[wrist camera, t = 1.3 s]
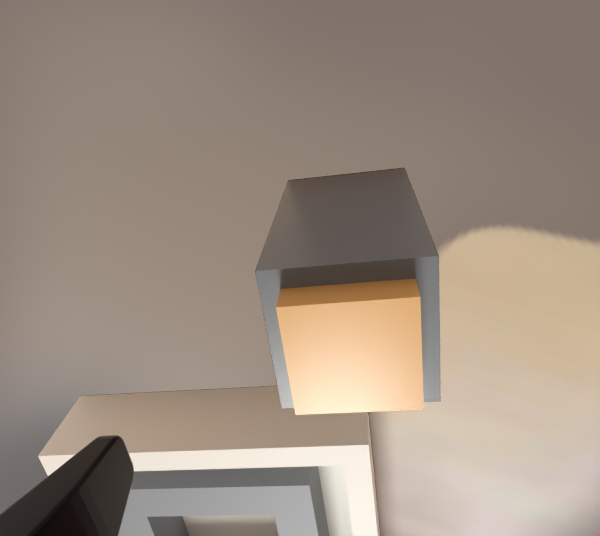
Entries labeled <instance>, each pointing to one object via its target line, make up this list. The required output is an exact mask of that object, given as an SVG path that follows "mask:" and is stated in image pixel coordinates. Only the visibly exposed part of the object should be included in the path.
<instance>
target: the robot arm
mask: <svg viewBox="0 0 600 536" xmlns="http://www.w3.org/2000/svg"><path fill="white" fill-rule="evenodd" d="M133 477H134V467H133V463H132V461H131V458H130V456H129V453H128V451H127V448H126V446H125V443H124V441H123V439H122V438H121V437H120V436H118V435H109V436H99V437H97V438H96V439H94V440H93V441H92V442H90V443H89V444H88V445H87V446H85V447H84V448H83V449H82V450H80V451H79V452H78V453H77V454H75V455H74V456H73V457H72V458H70V459H69V460H68V461H67V462H65V463H64V464H63V465H62V466H60V467H59V468H58V469H57V470H55V471H54V472H53V473H51V474H50V475H49V476H48V477H47V478H45V479H44V480H43V481H41V482H40V483H39V484H38V485H36V486H35V487H34V488H33V489H31V490H30V491H29V492H28V493H26V494H25V495H24V496H23V497H21V498H20V499H19V500H18V501H16V502H15V503H14V504H13V505H11V506H10V507H9V508H8V509H6V510H5V511H4V512H3V513H1V514H0V536H118V534H119V531H120V527H121V523H122V519H123V515H124V512H125V508H126V504H127V500H128V496H129V493H130V489H131V485H132V481H133Z"/></svg>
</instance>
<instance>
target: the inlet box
mask: <svg viewBox="0 0 600 536" xmlns="http://www.w3.org/2000/svg"><path fill="white" fill-rule="evenodd" d="M109 435H118V436H120V437H121V438H122V439H123V441H124V443H125V446H126V448H127V451H128V453H129V456H130V458H131V461H132V463H133V467H134V477H133V481H132V485H131V489H130V493H129V496H128V500H127V504H126V508H125V512H124V515H123V519H122V523H121V527H120V531H119V534H118V536H380V529H379V519H378V508H377V498H376V488H375V477H374V467H373V456H372V446H371V435H370V425H369V415H368V412H354V413H330V414H306V415H295V410H294V408H282V407H281V402H280V396H279V391H278V386H262V387H244V388H243V387H242V388H223V389H206V390H205V389H203V390H184V391H164V392H144V393H125V394H106V395H86V396H80V397H79V399H78V400H77V402H76V403H75V404H74V406H73V407H72V409H71V410H70V412H69V413H68V414H67V416H66V417H65V418H64V420H63V422H62V423H61V424H60V426H59V427H58V428H57V430H56V431H55V433H54V434H53V436H52V437H51V438H50V440H49V441H48V443H47V444H46V445H45V447H44V449H43V450H42V451H41V452H40V454H39V455H38V457H39V459H40V461H41V463H42V465H43V467H44V469H45V471H46V473H47V475H48V476H49V475H50V474H51V473H53V472H54V471H55V470H57V469H58V468H59V467H60V466H62V465H63V464H64V463H65V462H67V461H68V460H69V459H70V458H72V457H73V456H74V455H75V454H77V453H78V452H79V451H80V450H82V449H83V448H84V447H85V446H87V445H88V444H89V443H90V442H92V441H93V440H94V439H96V438H97V437H99V436H109Z"/></svg>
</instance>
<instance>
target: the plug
mask: <svg viewBox="0 0 600 536" xmlns="http://www.w3.org/2000/svg"><path fill="white" fill-rule="evenodd" d="M255 274H256V278H257V284H258V289H259V294H260V299H261V304H262V309H263V315H264V320H265V325H266V330H267V335H268V340H269V345H270V350H271V356H272V360H273V366H274V371H275V375H276V381H277V386H278V391H279V396H280V402H281V407H282V408H294V410H295V415H306V414H330V413H354V412H378V411H402V410H424V402H438V401H441V398H440V312H439V255H438V252H437V250H436V247H435V245H434V242H433V240H432V237H431V235H430V232H429V230H428V227H427V224H426V222H425V219H424V217H423V214H422V211H421V209H420V206H419V204H418V201H417V199H416V197H415V193H414V191H413V189H412V186H411V183H410V181H409V178H408V176H407V173H406V170H405V168H397V169H389V170H379V171H370V172H360V173H351V174H341V175H332V176H324V177H314V178H304V179H295V180H289V181H288V183H287V185H286V188H285V191H284V193H283V196H282V199H281V202H280V204H279V207H278V210H277V212H276V215H275V218H274V221H273V224H272V226H271V229H270V232H269V234H268V237H267V240H266V243H265V245H264V248H263V251H262V253H261V256H260V259H259V262H258V264H257V267H256V270H255Z"/></svg>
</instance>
